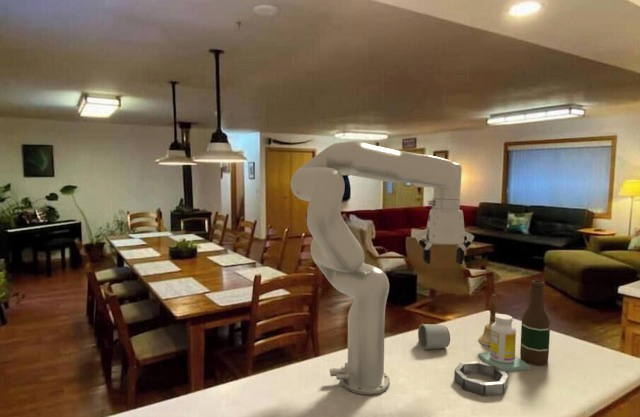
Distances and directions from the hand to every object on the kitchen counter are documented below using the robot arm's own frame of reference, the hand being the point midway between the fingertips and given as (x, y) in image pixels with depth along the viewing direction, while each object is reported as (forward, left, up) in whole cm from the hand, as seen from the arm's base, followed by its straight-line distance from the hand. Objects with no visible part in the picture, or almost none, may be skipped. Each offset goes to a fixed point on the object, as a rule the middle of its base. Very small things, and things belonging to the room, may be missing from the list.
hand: (443, 263), depth 121 cm
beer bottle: (+27, -6, -29) cm, 40 cm away
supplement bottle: (+16, -6, -28) cm, 33 cm away
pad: (+17, -6, -29) cm, 34 cm away
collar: (+4, -16, -29) cm, 33 cm away
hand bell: (+22, +8, -29) cm, 37 cm away
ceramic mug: (+1, +9, -29) cm, 30 cm away
